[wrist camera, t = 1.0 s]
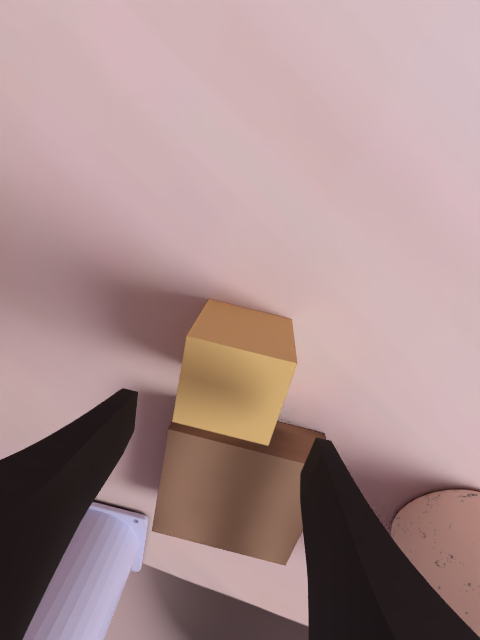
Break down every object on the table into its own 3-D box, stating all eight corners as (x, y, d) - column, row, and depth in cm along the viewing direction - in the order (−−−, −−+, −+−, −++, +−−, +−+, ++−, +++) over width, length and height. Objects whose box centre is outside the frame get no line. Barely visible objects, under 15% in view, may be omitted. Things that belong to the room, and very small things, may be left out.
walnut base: (165, 493, 25) (151, 530, 22) (182, 397, 21) (168, 429, 18) (284, 524, 25) (285, 565, 22) (324, 433, 21) (332, 470, 18)
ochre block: (195, 368, 20) (172, 421, 16) (209, 298, 18) (186, 335, 13) (270, 386, 20) (268, 445, 15) (291, 318, 18) (297, 363, 13)
